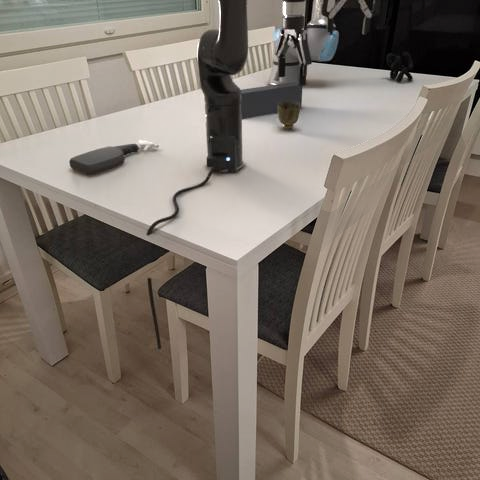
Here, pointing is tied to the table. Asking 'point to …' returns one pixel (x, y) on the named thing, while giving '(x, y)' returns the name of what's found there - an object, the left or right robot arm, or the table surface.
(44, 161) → the table surface
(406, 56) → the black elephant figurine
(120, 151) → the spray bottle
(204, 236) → the table surface
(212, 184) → the table surface
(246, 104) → the bar
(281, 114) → the cup
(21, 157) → the table surface
